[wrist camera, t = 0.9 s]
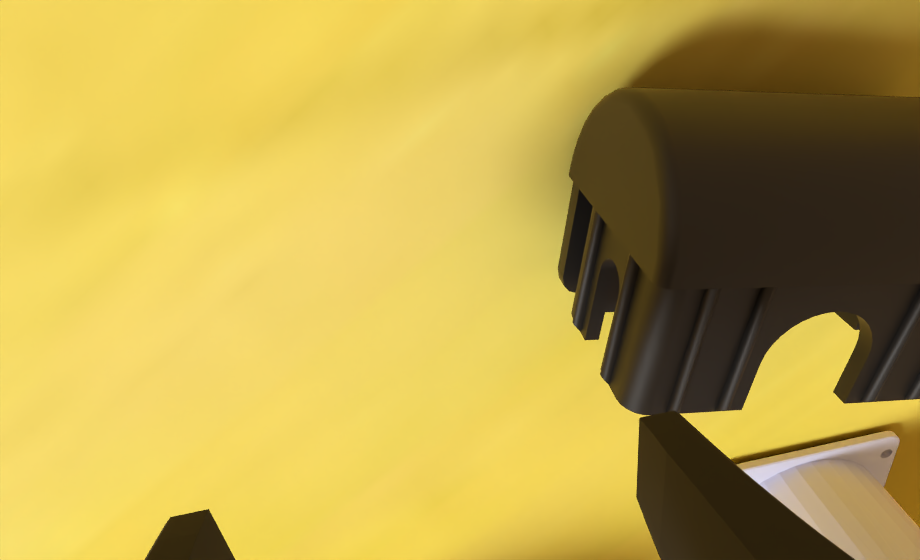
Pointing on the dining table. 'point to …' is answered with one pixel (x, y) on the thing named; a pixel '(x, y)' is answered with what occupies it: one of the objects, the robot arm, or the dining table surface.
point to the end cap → (744, 239)
